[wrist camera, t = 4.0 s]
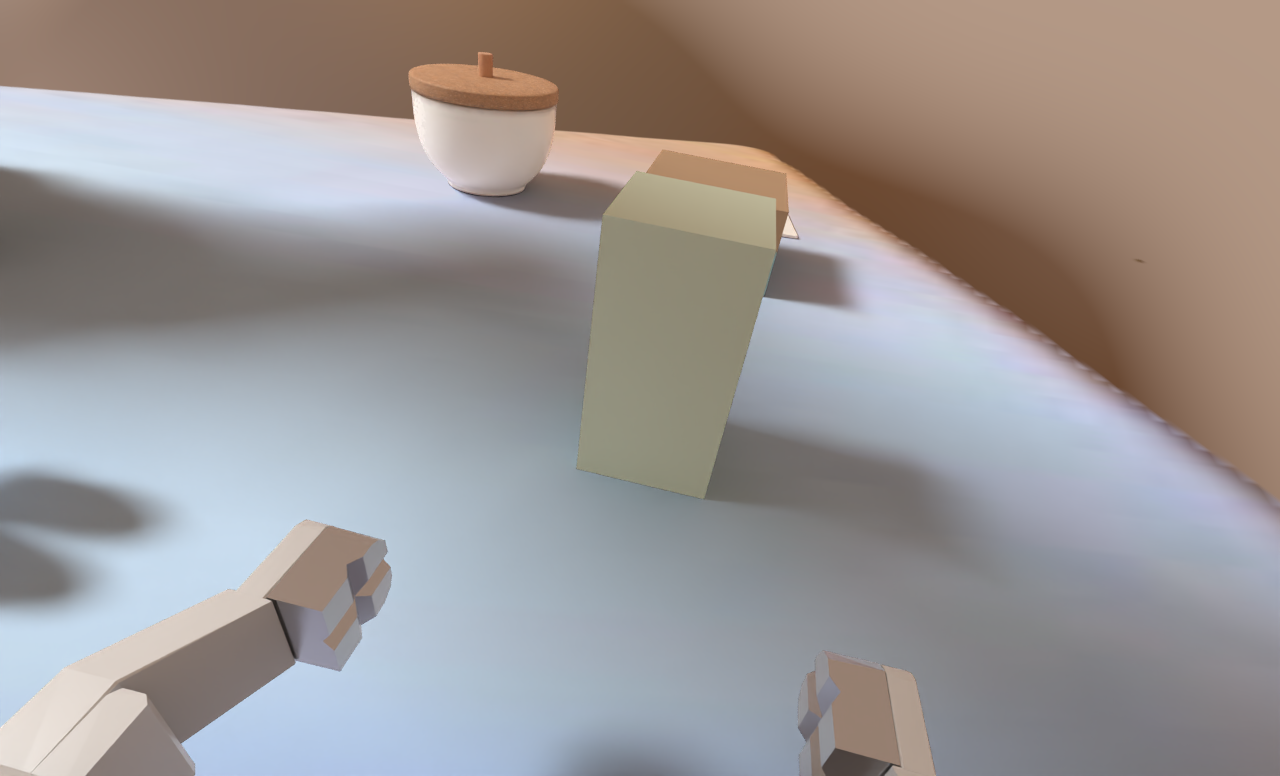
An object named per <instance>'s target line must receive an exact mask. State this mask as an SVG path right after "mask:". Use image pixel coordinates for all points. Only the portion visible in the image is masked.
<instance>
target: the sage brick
mask: <svg viewBox="0 0 1280 776" xmlns="http://www.w3.org/2000/svg"><path fill="white" fill-rule="evenodd" d="M775 253H776V199H775V198H770V197H765V196H760V195H755V194H750V193H745V192H740V191H735V190H730V189H725V188H720V187H715V186H710V185H705V184H700V183H695V182H689V181H684V180H679V179H674V178H669V177H664V176H659V175H654V174H649V173H644V172H639V171H636V172H635V174H634V175H633V176H632V177H631V179H630V180H629V181H628V183H627V184H626V185H625V186H624V188H623V189H622V190H621V192H620V193H619V194H618V195H617V197H616V198H615V199H614V201H613V202H612V203H611V204H610V206H609V207H608V208H607V210H606V211H605V212H604V213H603V216H602V226H601V236H600V245H599V255H598V265H597V274H596V284H595V294H594V303H593V313H592V323H591V332H590V342H589V351H588V361H587V371H586V380H585V390H584V400H583V409H582V419H581V429H580V438H579V448H578V458H577V467H576V469H579V470H583V471H588V472H592V473H596V474H600V475H604V476H608V477H613V478H617V479H621V480H625V481H629V482H634V483H638V484H642V485H646V486H650V487H654V488H659V489H663V490H667V491H671V492H675V493H679V494H684V495H688V496H692V497H696V498H700V499H704V498H705V494H706V491H707V487H708V484H709V481H710V477H711V474H712V470H713V467H714V463H715V460H716V456H717V453H718V449H719V446H720V443H721V439H722V436H723V432H724V429H725V425H726V422H727V418H728V415H729V411H730V408H731V405H732V401H733V398H734V394H735V391H736V387H737V384H738V380H739V377H740V373H741V370H742V367H743V363H744V360H745V356H746V353H747V349H748V346H749V342H750V339H751V335H752V332H753V329H754V325H755V322H756V318H757V315H758V311H759V308H760V304H761V301H762V297H763V294H764V291H765V287H766V284H767V280H768V277H769V273H770V270H771V266H772V263H773V259H774V256H775Z"/></svg>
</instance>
